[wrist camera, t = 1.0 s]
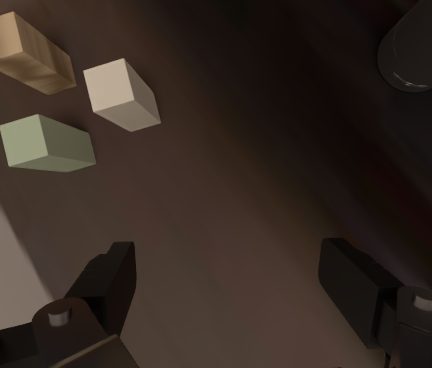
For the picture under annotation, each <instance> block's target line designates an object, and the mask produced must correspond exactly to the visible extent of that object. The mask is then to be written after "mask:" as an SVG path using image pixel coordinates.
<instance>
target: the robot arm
mask: <svg viewBox="0 0 432 368" xmlns="http://www.w3.org/2000/svg"><path fill="white" fill-rule="evenodd" d="M377 63H378V68H379V70H380V73H381V75H382V76H383V78H384V79H385V80H386V81H387V82H388V83H389V84H390V85H391V86H393V87H395V88H397V89H399V90H402V91H405V92H422V91H425V90H428V89H430V88H432V0H419V1H418V2H417V3H416V4H415V5H414V6H413V7H412V8H411V9H410V11H409V12H408V13H407V14H405V15H404V17H403V18H402V19H401V20H400V21H399V22H398V23H397V24H396V25H395V26H394V27H393V28H392V29H391V30H390V31H389V32H388V33H387V34H386V35H385V37H384V38H383V39H382V41H381V43H380V45H379V48H378V52H377ZM318 276H319V281H320V284H321V286H322V287H323V288H324V290H325V291H326V293H327V294H328V295H329V297H330V298H331V299H332V301H333V302H334V304H335V305H336V306H337V308H338V309H339V310H340V312H341V313H342V315H343V316H344V317H345V319H346V320H347V321H348V323H349V324H350V326H351V327H352V328H353V330H354V331H355V332H356V334H357V335H358V337H359V338H360V339H361V341H362V342H363V343H364V345H365V346H366V348H367V349H376V348H383V349H384V350H385V354H384V359H383V368H432V291H429V290H427V289H423V288H420V287H415V286H405V285H404V284H403V283H402V282H401V281H399V280H398V279H397V278H396V277H395V276H393V275H392V274H391V273H390V272H388V271H387V270H386V269H384V267H382V266H381V265H380V264H379V263H377V262H376V261H375V260H374V259H373V258H371V257H370V256H369V255H368V254H366V253H364V252H362V251H360V250H358V249H356V248H354V247H353V246H352V245H351V244H350V243H348V242H347V241H346V240H345V239H344V238H324V239H323V241H322V244H321V253H320V261H319V269H318ZM136 279H137V277H136V261H135V246H134V242H114V243H113V244H112V246H111V247H110V249H109V251H108V252H107V254H99V255H98V256H96V257H95V258H94V259H92V260H91V261H89V263H88V264H87V266H86V267H85V268H84V271H82V273H81V274H80V275H79V278H77V280H76V281H75V283H74V284H73V285H72V287H71V288H70V290H69V291H68V292H67V294H66V295H65V297H64V298H62V299H59V300H56V301H53V302H51V303H49V304H47V305H45V306H44V307H42V308H41V309H40V310H38V311H37V312H36V314H35V315H34V316H33V319H32V322H30V323H26V324H23V325H18V326H15V327H10V328H6V329H2V330H0V368H140V367H139V365H138V364H137V362H136V361H135V359H134V358H133V356H132V355H131V353H130V352H129V351H128V349H127V348H126V346H125V345H124V343H123V342H122V340H121V339H120V334H121V331H122V328H123V325H124V322H125V319H126V316H127V313H128V311H129V308H130V305H131V302H132V299H133V296H134V293H135V289H136ZM340 368H341V367H340Z"/></svg>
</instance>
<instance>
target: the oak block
mask: <svg viewBox="0 0 432 368" xmlns="http://www.w3.org/2000/svg"><path fill="white" fill-rule="evenodd" d="M0 71H1V72H3V73H5V74H7V75H9V76H11V77H13V78H15V79H17V80H19V81H21V82H23V83H25V84H27V85H29V86H31V87H33V88H35V89H37V90H39V91H41V92H43V93H45V94H47V95H50V94H53V93H57V92H60V91H63V90H66V89H70V88H73V87H76V86H77V84H76V80H75V76H74V72H73V68H72V64H71V60H70V56H69V55H67V54H66V53H65V52H64V51H62V50H61V49H60V48H59V47H57V46H56V45H55V44H54V43H52V42H51V41H50V40H48V39H47V38H46V37H45V36H43V35H42V34H41V33H40V32H38V31H37V30H36V29H35V28H33V27H32V26H31V25H30V24H28V23H27V22H26V21H25V20H23V19H22V18H21V17H20V16H18V15H17V14H16V13H15V12H10V13H7V14H4V15H1V16H0Z"/></svg>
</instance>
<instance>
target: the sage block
mask: <svg viewBox="0 0 432 368" xmlns="http://www.w3.org/2000/svg"><path fill="white" fill-rule="evenodd" d="M0 131H1V135H2V139H3V143H4V147H5V152H6V156H7V160H8V164H9V166H10V167H20V168H30V169H40V170H49V171H59V172H70V171H73V170H77V169H80V168H84V167H87V166H91V165H94V164H96V160H95V156H94V152H93V148H92V144H91V140H90V136H89V133H87V132H84V131H82V130H79V129H76V128H74V127H71V126H68V125H66V124H63V123H60V122H58V121H55V120H52V119H50V118H47V117H45V116H42V115H39V114H37V115H34V116H30V117H27V118H24V119H20V120H17V121H14V122H10V123H7V124H4V125H0Z"/></svg>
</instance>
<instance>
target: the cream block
mask: <svg viewBox="0 0 432 368" xmlns="http://www.w3.org/2000/svg"><path fill="white" fill-rule="evenodd" d="M83 72H84V76H85V80H86V84H87V88H88V92H89V96H90V100H91V104H92V108H93V112H94V113H96V114H98V115H100V116H102V117H104V118H106V119H108V120H109V121H111V122H113V123H115V124H117V125H119V126H121V127H122V128H124V129H126V130H128V131H130V132H132V131H135V130H139V129H142V128H146V127H149V126H153V125H156V124H160V123H161V121H160V117H159V113H158V109H157V105H156V101H155V98H154V94H153V91H152V90H151V89H150V88H149V87H148V86H147V85H146V83H145V82H144V81H143V80H142V79H141V78H140V76H139V75H138V74H137V73H136V72H135V71H134V70H133V68H132V67H131V66H130V65H129V64H128V63H127V62H126V60H125V59H124V58H123V59H120V60H117V61H113V62H110V63H107V64H104V65H100V66H97V67H94V68H91V69H87V70H84V71H83Z"/></svg>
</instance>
